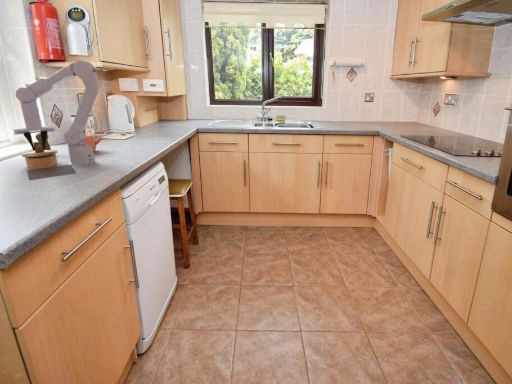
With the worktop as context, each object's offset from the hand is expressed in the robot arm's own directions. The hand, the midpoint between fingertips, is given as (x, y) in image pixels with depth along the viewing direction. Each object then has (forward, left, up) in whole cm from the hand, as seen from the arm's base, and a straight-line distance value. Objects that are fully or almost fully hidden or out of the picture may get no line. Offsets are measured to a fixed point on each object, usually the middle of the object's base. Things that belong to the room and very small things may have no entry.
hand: (39, 149), depth 141 cm
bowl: (0, 0, -7) cm, 7 cm away
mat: (-13, +8, -7) cm, 17 cm away
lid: (0, +1, -2) cm, 2 cm away
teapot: (+1, -28, -7) cm, 29 cm away
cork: (+15, -17, -7) cm, 24 cm away
